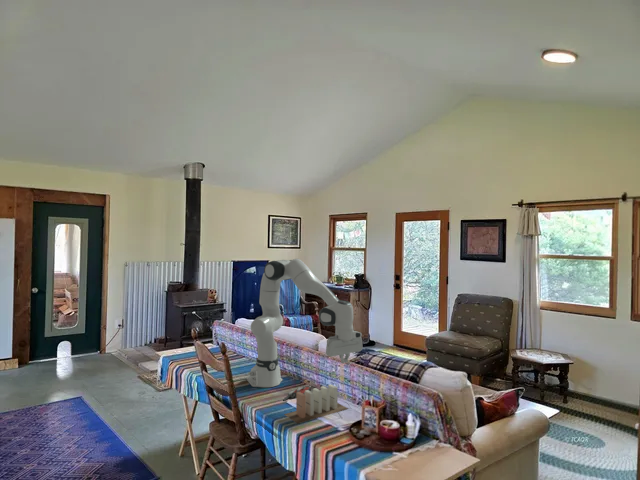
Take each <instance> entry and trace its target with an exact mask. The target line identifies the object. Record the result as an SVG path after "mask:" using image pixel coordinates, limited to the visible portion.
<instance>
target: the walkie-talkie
mask: <svg viewBox="0 0 640 480" xmlns="http://www.w3.org/2000/svg"><path fill="white" fill-rule="evenodd" d="M306 390H309V391H311V392H312V388H311V386H307V385H300V386H298V388H296V389H293V390H291V391H290V392H288V393H287V396H285V397H284V399H282V402H285V401H287V400H288V399H289V398H292V399H296V393H297V392H301V393H303V394H304V395H305V391H306Z"/></svg>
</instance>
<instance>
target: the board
mask: <svg viewBox="0 0 640 480" xmlns="http://www.w3.org/2000/svg"><path fill="white" fill-rule="evenodd" d="M346 410H349V408H348V407H346V406H344V405H343V404H340V403H339V402H337V409H333V408H331V407H330V411H325V410H323V409H322V413H317V412H315V411H314V415H312V416H310V415H308V414H307V413H306V417H305V418H301V417H300V416H298V415H296V410H295V411H291V412H287V413H284V414H283V415H284V416H285V417H287V418H288V419H290V420H291V421H293V422H295V424H297V425H298V424H301V423H305V422H308V421H311V420H315V419H319V418H322V417H326V416H329V415H333V414H336V413H339V412H343V411H346Z"/></svg>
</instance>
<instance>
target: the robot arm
mask: <svg viewBox="0 0 640 480" xmlns="http://www.w3.org/2000/svg"><path fill="white" fill-rule="evenodd" d="M263 271H264V272H263V274H262V277H261V281H260V289H259V300H258V301H259V305H260V306H261V311H262V315H259V316H257V317H256V318H255V319H253V321H251V324H250V330H251V333H252V334H253V335H254V337H255V340H256V345H257V357H256V358H255V360H256V362H255V365H254V366H253V367H252V368H250V371H249V376H247V377H246V379H245V380H247V381H246V382H248V384H250V386H251V387H254V388H257V387H258V388H272V387H277V386H279V385H280V384H281V382H283V378H282V377H281V366H280V365H279V358H278V343H277V342H276V340H275V338H274V337H275V336H274V332H276V331H279V330H280V329H281V327H282V326H283V324H284V318H283V316H282V314H281V309H280V292H281V284H282V283H281V282H282V281H289V280H291V281H292V282H293V284H294V285H295V287H296V288H297V289H298V290H299V291H300V292H302V293H304V294H309V295H310V294H311V295H315V296H317V297H319V298H320V299H322V300H323V301H324V302H325V304H326V305H327V306H324V307H322V308H321V309H320V311H319V312H318V319H319V321H320V323H321V324H322V326H326V327H329V326H334V328H335V331H334V332H335V333H334V334H335V335H333V336H332V335H331V336H329V337H328V339H326V347H325V354H326V356H328V357H330V358H332V357H336V356H339V358H340V363H341V364H345V363H346V364H347V363H349V357H350V355H351V354H352V353H358V352H361V351H362V350H363V338H362V336H363V333H362V332H359V331H356V330H354V325H353V323H354V318H355V317H354V307H353V304H352V303H351V302H350V301H348V300H340V299H339V298H338V296H336V295H335V293H334V292H333V291H332V290H331V289H330V288H329V287H328V286H327V285H326V284H325V283H323V282H322V280H320V279H319V278H318V277H317V276H316V275H315V274H314V272H313V271H312V270H311V268H310V267H309V266H308V265H307V264H306V263H305V262H304V261H303V260H302V259H300V258H294V259H280V260H279V259H278V260H272V261H271V260H270V261H269V262H266V264H265V266H264V270H263Z"/></svg>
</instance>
